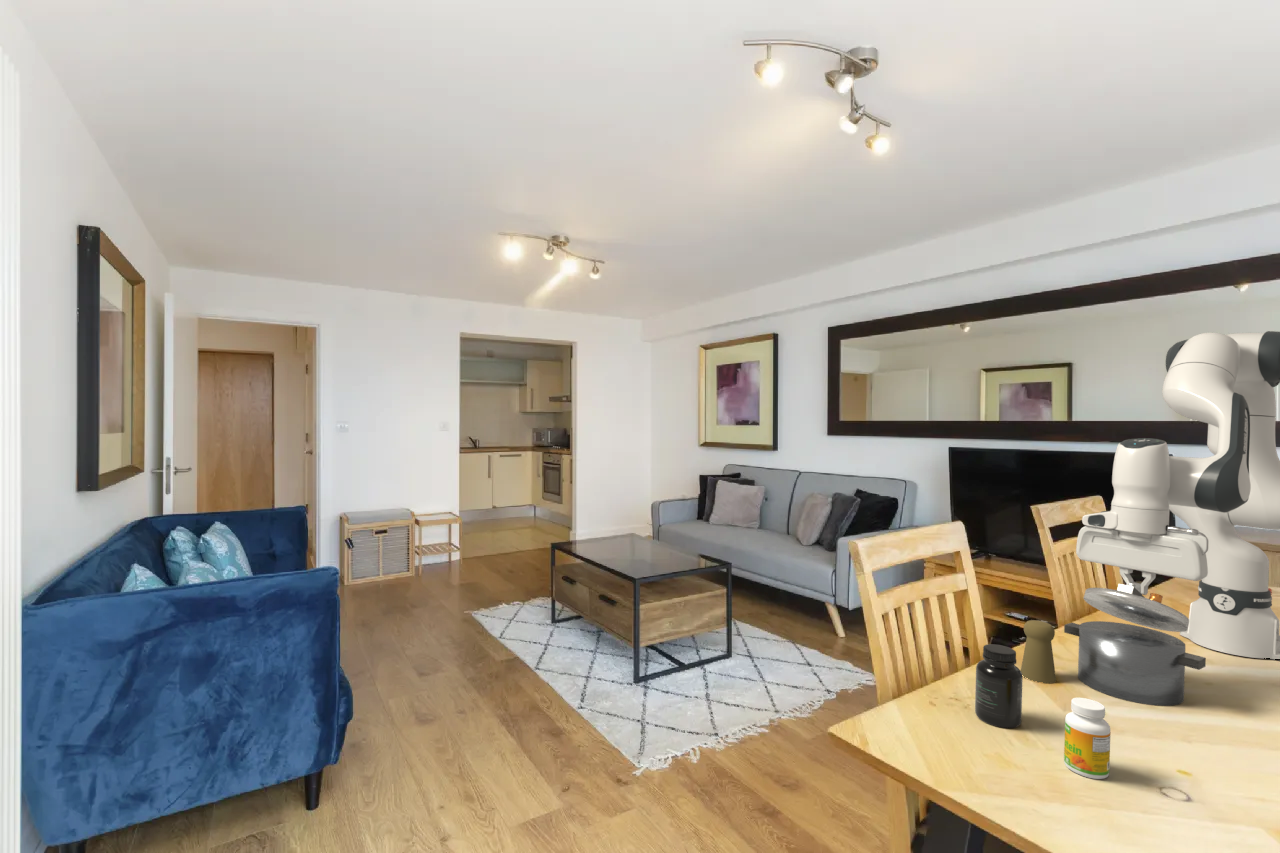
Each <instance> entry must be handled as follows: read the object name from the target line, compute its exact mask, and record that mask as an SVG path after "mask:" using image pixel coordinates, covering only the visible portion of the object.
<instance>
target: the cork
mask: <svg viewBox="0 0 1280 853" xmlns="http://www.w3.org/2000/svg"><path fill="white" fill-rule="evenodd" d="M1023 631H1024V634H1025V636H1026V638H1025V639H1026V640H1025V644H1024V650H1023V655H1022V661H1021V667H1020V671H1021V672H1022V675H1023V676H1024V677H1026V678H1028V679H1030V680H1029V681H1031V680H1033V681H1032V682H1035V681H1037V682H1036V683H1039V682H1043V683H1042V684H1054V683H1056V682H1057V676H1056V670H1055V662H1054V660H1055V659H1054V654H1053V653H1054V652H1053V645H1052V641H1053V640H1054V638H1055V634H1056V632H1055V628H1054V626H1053V625H1052V624H1050V623H1048V622H1045V621H1042V620H1034V619H1033V620H1032V619H1031V620H1030V619H1029V620H1027V621H1026V622H1025V623H1024V626H1023ZM1023 676H1022V677H1023ZM1024 677H1023V678H1024ZM1026 678H1025V679H1026ZM1028 679H1027V680H1028ZM1055 681H1056V682H1055Z"/></svg>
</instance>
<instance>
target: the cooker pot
mask: <svg viewBox="0 0 1280 853" xmlns="http://www.w3.org/2000/svg"><path fill="white" fill-rule="evenodd" d="M1063 626H1064V627H1063V631H1064V632H1063V633H1065V634H1068V635H1072V636H1076V637H1078V666H1077V667H1078V668H1077V678H1078V680H1079V681H1080V682H1081V683H1083V684H1084V685H1085V686H1087V687H1088V688H1090V689H1093V690H1095V691H1096V692H1099V693H1101V694H1105V695H1108V696H1111V697H1112V698H1117V699H1120V700H1124V701H1127V702H1131V703H1137V704H1143V705H1149V706H1162V707H1163V706H1164V707H1171V706H1178V705H1180V704H1182V703H1184V700H1185V676H1186V674H1185V673H1186V672H1185V670H1186V668H1191V669H1194V670H1197V671H1199V670H1202V669H1203V668H1206V664H1207V663H1206V662H1207V661H1206V657H1205V656H1200V655H1197V654H1193V653H1188V652H1186V643H1185V642H1184V641H1183V640H1181V639H1180V638H1178V637H1176V636H1174V635H1172V634H1168V633H1166V632H1162V631H1161V630H1157V629H1154V628H1150V627H1146V626H1141V625H1139V626H1138V625H1136V624H1129V623H1123V622H1113V621H1103V620H1102V621H1099V620H1098V621H1096V620H1095V621H1094V620H1093V621H1084V622H1081V623H1079V624H1078V623H1076V622H1069V623H1065V624H1064V625H1063ZM1185 667H1186V668H1185Z"/></svg>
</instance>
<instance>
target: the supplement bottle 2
mask: <svg viewBox="0 0 1280 853" xmlns="http://www.w3.org/2000/svg"><path fill="white" fill-rule="evenodd" d="M1070 703H1071V704H1070V709H1071V712H1068V713H1067V714H1066V715H1065V718H1064V747H1063V748H1064V749H1063V751H1064V752H1063V763H1064V765H1065V767H1067V769H1068V770H1070V771H1071V772H1073V773H1075V774H1077V775H1079V776H1083V777H1085V778H1088V779H1093V780H1103V779H1106V778H1108V777H1109V775H1110V765H1111V764H1110V762H1111V758H1110V757H1111V756H1110V755H1111V726H1110V724H1109V723H1108V721H1106V720H1105V717H1106V707H1105V705H1103V704H1102V703H1101V702H1099V701H1097V700H1095V699H1090V698H1085V697H1073V698H1071V702H1070Z"/></svg>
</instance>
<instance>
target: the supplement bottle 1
mask: <svg viewBox="0 0 1280 853" xmlns="http://www.w3.org/2000/svg"><path fill="white" fill-rule="evenodd" d="M982 648H983V650H982V658H983V659H982V660H979V661H978V662H977V664H976V667H975V691H974V692H975V696H974V705H975V706H974V711H975V712H974V714H975V716H976V717H977V718H978V719H979V720H980V721H981V722H984V723H986V724H988V725H991V726H993V727H997V728H1000V729H1001V728H1002V729H1014V728H1015V729H1016V728H1018V727H1019V726H1020V725H1021V724H1022V715H1023V711H1022V710H1023V705H1022V704H1023V678H1024V677H1023V676H1022V672H1021V668H1019V667H1018V666H1016V665H1017V652H1016V650H1015V649H1013V648H1011V647H1009V646H1006V645H1001V644H995V643H994V644H993V643H992V644H991V643H990V644H985V645H983V647H982Z"/></svg>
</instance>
